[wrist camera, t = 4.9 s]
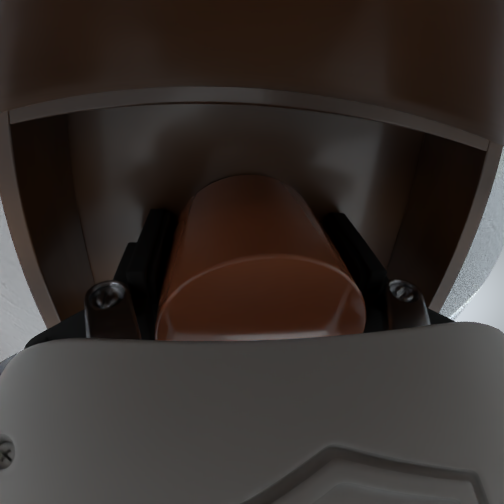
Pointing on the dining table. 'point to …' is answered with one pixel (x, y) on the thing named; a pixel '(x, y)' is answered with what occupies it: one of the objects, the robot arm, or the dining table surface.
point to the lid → (265, 52)
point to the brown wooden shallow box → (227, 165)
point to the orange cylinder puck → (254, 269)
